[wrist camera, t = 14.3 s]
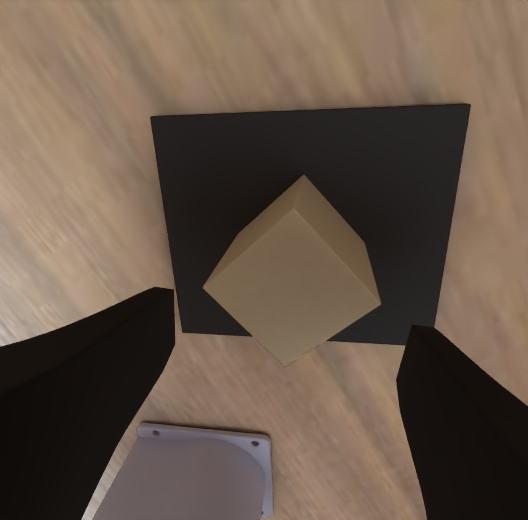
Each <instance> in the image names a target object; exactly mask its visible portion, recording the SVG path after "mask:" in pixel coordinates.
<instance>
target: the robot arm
mask: <svg viewBox="0 0 528 520" xmlns="http://www.w3.org/2000/svg"><path fill="white" fill-rule="evenodd" d="M174 345H175V313H174V289H167V288H160V287H153V288H151V289H148V290H146V291H143V292H141V293H139V294H137V295H135V296H132V297H130V298H128V299H126V300H124V301H122V302H120V303H117V304H115V305H113V306H111V307H109V308H107V309H105V310H102V311H100V312H98V313H95V314H93V315H91V316H88V317H86V318H84V319H81V320H79V321H76V322H74V323H72V324H69V325H67V326H64V327H62V328H59V329H56V330H53V331H51V332H48V333H45V334H42V335H39V336H36V337H33V338H30V339H26V340H23V341H20V342H16V343H12V344H9V345H5V346H1V347H0V520H81V519H82V517H83V515H84V512H85V510H86V508H87V506H88V504H89V502H90V500H91V498H92V495H93V493H94V491H95V489H96V487H97V485H98V483H99V481H100V479H101V477H102V475H103V473H104V471H105V469H106V467H107V465H108V463H109V461H110V459H111V457H112V455H113V453H114V451H115V449H116V447H117V445H118V443H119V441H120V440H121V438H122V436H123V434H124V433H125V431H126V429H127V428H128V426H129V425H130V423H131V421H132V420H133V418H134V417H135V415H136V414H137V412H138V410H139V409H140V407H141V406H142V404H143V402H144V401H145V399H146V398H147V396H148V395H149V393H150V391H151V390H152V388H153V387H154V385H155V383H156V382H157V380H158V378H159V377H160V375H161V373H162V372H163V370H164V368H165V366H166V364H167V361H168V359H169V357H170V355H171V352H172V350H173V348H174ZM396 382H397V391H398V399H399V407H400V413H401V417H402V421H403V424H404V428H405V432H406V436H407V440H408V443H409V447H410V451H411V454H412V458H413V462H414V465H415V469H416V473H417V476H418V480H419V484H420V487H421V492H422V496H423V500H424V505H425V510H426V516H427V520H528V406H527V405H526V404H524V403H523V402H522V401H520V400H519V399H518V398H517V397H515V396H514V395H513V394H512V393H510V392H509V391H508V390H507V389H505V388H504V387H503V386H501V385H500V384H499V383H498V382H497V381H495V380H494V379H493V378H492V377H491V376H489V375H488V374H487V373H486V372H485V371H484V370H482V369H481V368H480V367H479V366H478V365H477V364H475V363H474V362H473V361H472V360H471V359H470V358H469V357H468V356H466V355H465V354H464V353H463V352H462V351H461V350H460V349H459V348H457V347H456V346H455V345H454V344H453V343H452V342H451V341H450V340H448V339H447V338H446V337H445V336H444V335H443V334H442V333H440V332H439V331H438V330H436V329H435V328H434V327H427V326H420V325H414V324H412V326H411V329H410V333H409V336H408V340H407V343H406V347H405V350H404V354H403V357H402V361H401V364H400V368H399V371H398V375H397V379H396ZM137 435H138V438H137V440H136V442H135V444H134V445H133V447H132V449H131V451H130V453H129V454H128V456H127V458H126V460H125V462H124V463H123V465H122V467H121V469H120V470H119V472H118V474H117V476H116V478H115V479H114V481H113V483H112V485H111V487H110V488H109V490H108V492H107V494H106V495H105V497H104V499H103V501H102V503H101V504H100V506H99V508H98V510H97V511H96V513H95V515H94V517H93V519H92V520H260V519H261V517H271V516H272V515H273V511H274V504H273V482H272V459H271V440H270V438H269V437H268V436H266V435H262V434H252V433H242V432H232V431H222V430H211V429H201V428H191V427H181V426H171V425H161V424H151V423H140V424H139V426H138V427H137ZM256 441H257V442H256Z"/></svg>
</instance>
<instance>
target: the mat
mask: <svg viewBox="0 0 528 520" xmlns="http://www.w3.org/2000/svg"><path fill="white" fill-rule="evenodd" d="M470 107H471V105H470V104H446V105H421V106H396V107H371V108H346V109H320V110H295V111H270V112H245V113H220V114H195V115H170V116H151V117H150V119H151V126H152V133H153V139H154V146H155V153H156V159H157V166H158V173H159V180H160V186H161V193H162V200H163V206H164V213H165V220H166V226H167V233H168V240H169V247H170V253H171V260H172V267H173V273H174V280H175V287H176V294H177V300H178V307H179V314H180V320H181V327H182V332H183V333H199V334H217V335H234V336H252V335H251V334H250V333H249V332H248V331H247V330H246V329H245V328H244V327H243V326H242V325H241V324H240V323H239V322H238V321H237V320H236V319H235V318H233V317H232V316H231V315H230V314H229V313H228V312H227V311H226V310H225V309H224V308H223V307H222V306H221V305H220V304H219V303H218V302H217V301H216V300H215V299H214V298H213V297H212V296H211V295H210V294H209V293H208V292H207V291H205V290H204V289H203V286H204V284H205V283H206V281H207V280H208V278H209V277H210V275H211V274H212V272H213V271H214V269H215V268H216V266H217V265H218V263H219V262H220V260H221V259H222V257H223V256H224V254H225V253H226V251H227V250H228V248H229V247H230V245H231V244H232V242H233V241H234V239H235V238H236V236H237V235H238V233H240V232H241V231H242V230H243V229H244V228H245V227H246V226H247V225H248V224H250V223H251V222H252V221H253V220H254V219H255V218H256V217H257V216H258V215H259V214H261V213H262V212H263V211H264V210H265V209H266V208H267V207H268V206H269V205H271V204H272V203H273V202H274V201H275V200H276V199H277V198H278V197H279V196H281V195H282V194H283V193H284V192H285V191H286V190H287V189H288V188H289V187H291V186H292V185H293V184H294V183H295V182H296V181H297V180H298V179H299V178H300V177H302V176H303V175H305V176H306V177H307V178H308V179H309V181H310V182H311V183H312V184H313V185H314V186H315V187H316V188H317V190H318V191H319V192H320V193H321V194H322V195H323V196H324V197H325V199H326V200H327V201H328V202H329V203H330V204H331V205H332V206H333V208H334V209H335V210H336V211H337V212H338V213H339V214H340V215H341V217H342V218H343V219H344V220H345V221H346V222H347V223H348V224H349V226H350V227H351V228H352V229H353V230H354V231H355V232H356V233H357V235H358V236H359V237H360V238H361V239H362V240H363V241H364V242H365V246H366V249H367V253H368V257H369V261H370V264H371V268H372V272H373V275H374V279H375V283H376V286H377V290H378V294H379V297H380V301H381V305H379V306H378V307H376V308H375V309H373V310H372V311H370V312H369V313H367V314H366V315H364V316H363V317H361V318H359V319H358V320H356V321H355V322H353V323H352V324H350V325H349V326H347V327H346V328H344V329H343V330H341V331H340V332H338V333H337V334H335V335H334V336H332V337H331V338H329V339H328V340H326V341H339V342H356V343H373V344H391V345H406V343H407V340H408V336H409V333H410V329H411V326H412V324H414V325H420V326H427V327H434V325H435V319H436V313H437V307H438V301H439V295H440V289H441V283H442V277H443V271H444V265H445V259H446V253H447V246H448V240H449V234H450V228H451V222H452V216H453V210H454V204H455V198H456V192H457V186H458V180H459V174H460V168H461V162H462V156H463V150H464V144H465V137H466V131H467V125H468V119H469V113H470ZM252 337H253V336H252Z"/></svg>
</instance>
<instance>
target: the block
mask: <svg viewBox="0 0 528 520" xmlns="http://www.w3.org/2000/svg"><path fill="white" fill-rule="evenodd" d="M203 289H204V290H205V291H207V292H208V293H209V294H210V295H211V296H212V297H213V298H214V299H215V300H216V301H217V302H218V303H219V304H220V305H221V306H222V307H223V308H224V309H225V310H226V311H227V312H228V313H229V314H230V315H231V316H232V317H233V318H235V319H236V320H237V321H238V322H239V323H240V324H241V325H242V326H243V327H244V328H245V329H246V330H247V331H248V332H249V333H250V334H251V335H252V336H253V337H254V338H255V339H256V340H257V341H258V342H259V343H260V344H261V345H263V346H264V347H265V348H266V349H267V350H268V351H269V352H270V353H271V354H272V355H273V356H274V357H275V358H276V359H277V360H278V361H279V362H280V363H281V364H282V365H283V366H284V367H287V366H288V365H290V364H291V363H293V362H294V361H296V360H297V359H299V358H300V357H302V356H303V355H305V354H306V353H308V352H309V351H311V350H312V349H314V348H315V347H317V346H318V345H320V344H322V343H323V342H325V341H326V340H328V339H329V338H331V337H332V336H334V335H335V334H337V333H338V332H340V331H341V330H343V329H344V328H346V327H347V326H349V325H350V324H352V323H353V322H355V321H356V320H358V319H359V318H361V317H363V316H364V315H366V314H367V313H369V312H370V311H372V310H373V309H375V308H376V307H378V306H379V305H381V301H380V297H379V294H378V290H377V286H376V283H375V279H374V275H373V272H372V268H371V264H370V261H369V257H368V253H367V249H366V246H365V242H364V241H363V240H362V239H361V238H360V237H359V236H358V235H357V233H356V232H355V231H354V230H353V229H352V228H351V227H350V226H349V224H348V223H347V222H346V221H345V220H344V219H343V218H342V217H341V215H340V214H339V213H338V212H337V211H336V210H335V209H334V208H333V206H332V205H331V204H330V203H329V202H328V201H327V200H326V199H325V197H324V196H323V195H322V194H321V193H320V192H319V191H318V190H317V188H316V187H315V186H314V185H313V184H312V183H311V182H310V181H309V179H308V178H307V177H306V176H305V175H303V176H302V177H300V178H299V179H298V180H297V181H296V182H295V183H294V184H293V185H292V186H291V187H289V188H288V189H287V190H286V191H285V192H284V193H283V194H282V195H281V196H279V197H278V198H277V199H276V200H275V201H274V202H273V203H272V204H271V205H269V206H268V207H267V208H266V209H265V210H264V211H263V212H262V213H261V214H259V215H258V216H257V217H256V218H255V219H254V220H253V221H252V222H251V223H250V224H248V225H247V226H246V227H245V228H244V229H243V230H242V231H241V232H240V233H238V235H237V236H236V238H235V239H234V241H233V242H232V244H231V245H230V247H229V248H228V250H227V251H226V253H225V254H224V256H223V257H222V259H221V260H220V262H219V263H218V265H217V266H216V268H215V269H214V271H213V272H212V274H211V275H210V277H209V278H208V280H207V281H206V283H205V284H204V286H203Z"/></svg>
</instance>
